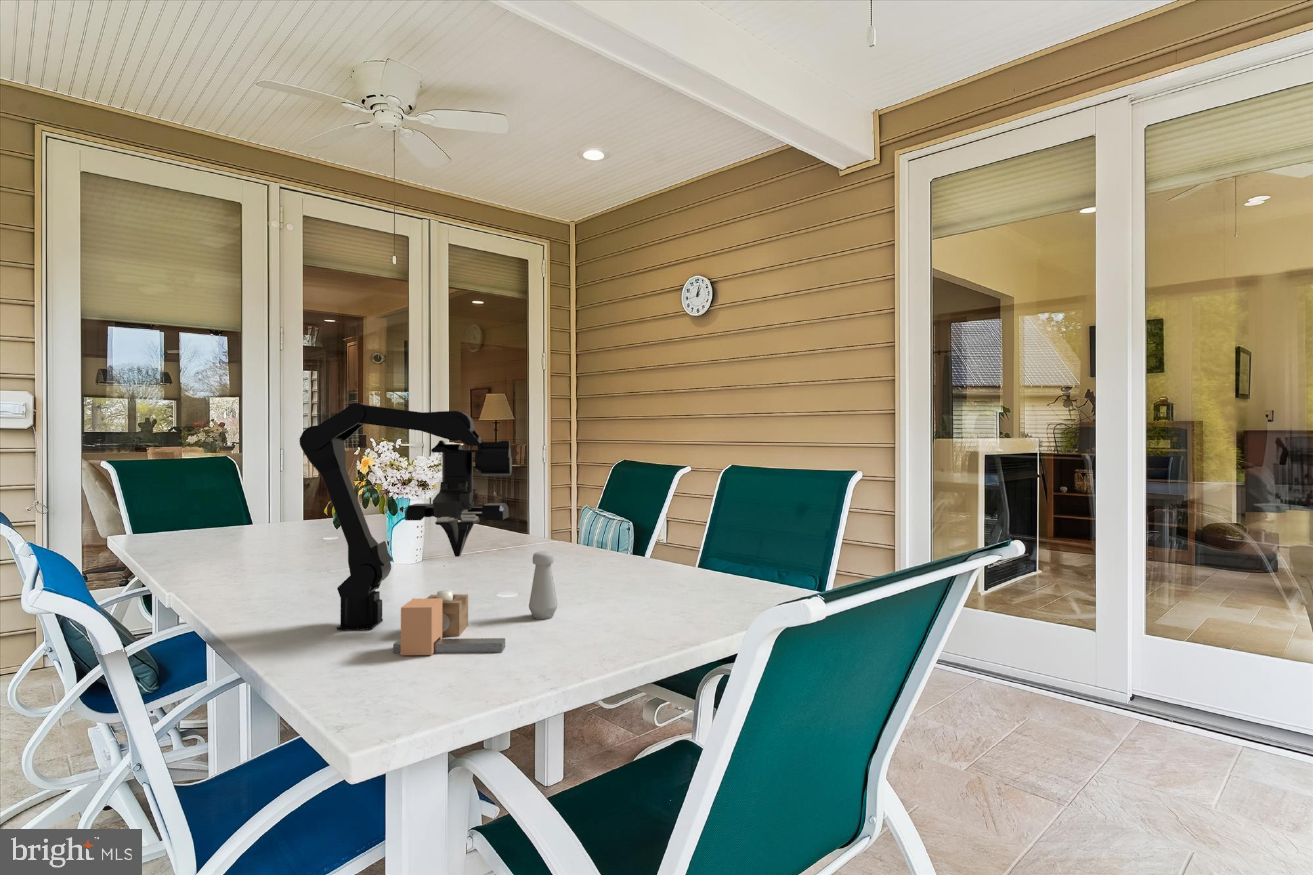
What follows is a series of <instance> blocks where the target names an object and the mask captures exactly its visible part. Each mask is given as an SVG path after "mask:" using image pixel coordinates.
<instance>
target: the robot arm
mask: <svg viewBox="0 0 1313 875" xmlns="http://www.w3.org/2000/svg"><path fill="white" fill-rule="evenodd" d="M364 425H371V426H381V427H387V428H388V427H389V428H396V429H404V430H405V429H406V430H411V431H421V432H423V433H426V434H429V435H433V436H435V437H439V438H442V440H439V441H438V443H437V444H436V445H435V446H434V447H433V448H431V449H430V451H431V453H438V454H439V453H440V454H442V455H441V456H442V457H441V458H442V459H441V464H442V465H441V467H442V468H441V470H442V472H441V474H442V475H441V476H442V477H441V479H442V480H441V482H440V486H439V488H440V489H439V492H438V493H437V494H436V495H435V497H434V498H433V499H432V503H413V504H411V505H407V507H406V508H405V510H404V521H422V520H423V519H424V518H432V517H434V518H436V521H435V522H434V524H435V525H436V526H439V527H441V528H442V529H443V530H444V533H445V534H446V536H447V538H448V541H449V544H450V546H451V549H452V551H453V555H454V557H457V558H459V557H461V555H462V554H463V553H462V552H463V551H464V550H463V549H464V547H465V544H466V542H467V539H468V538H469V534H470V532H471V530H472V528H473V527H474V525H475V524H477V523H479V522H480V520H481V519H480V518H479V517H482V518H483V519H484V520H486V521H503V520H505V519H507V518H509V516H510V514H509V506H508V504H507V503H505V502H501V503H500V502H499V503H498V502H489V503H485V504H483V505H482V506H475V500H474V485H475V480H474V476H473V475H474V473H473V471H474V468H475V471H477V472H480V475H481V476H512V473H513V472H512V471H513V456H512V450H511V442H510V440H501V441H483V439H482V437H481V436H479V434H478V432H477V431H476V430H475V423H474V420H473V418H472V417H471V416H470V415H469V414H467V413H466V412H463V411H458V410H447V411H446V410H444V411H426V412H425V411H424V412H421V411H413V410H408V409H407V410H406V409H398V408H390V407H384V406H374V405H368V404H365V403H361V402H352V403H350V404H349V405H348V406H347V407H344V409H343V410H341V411H339V412H338V413H336V414H334V415H333V416H331V417H329V418H327V419H326V420H324V421H323V422H321V423H320V424H318V425H311V426H309V427H307V428H305V429H304V431H302V433H301V435H300V437H299V446H300V449H301V450H302V451H303V454H304V456H306V458H307V459H308V461H309V463H310V464H311V466H313V467H314V468H315V470H316V471H317V472H318V473H319V474H320V476H321V478H322V481H323V483H324V487H325V489H326V492H327V493H328V496H329V499H330V502H331V504H332V507H333V510H334V512H335V515H336V518H337V520H338V522H339V525H340V527H341V530H342V533H343V535H344V538H345V541H346V543H347V563H348V569H349V574H350V575H349V576H348V577H347V578H346V579H344V581H343V582H342V583H341V584H339V585H338V587H337V588H336V589H337V592H338V595H339V597H340V622H339V623H340V625H339V624H338V625H337V626H336V630H345V631H346V630H355V631H356V630H372V629H374V628H375V627H377V626H378V625H379V624H381V623H382V622H383V621H384V619H383V599H381V598H380V595H381V594H380V592H381V591H376V590H378V589H380V586H381V583H382V582H383V581H384V580H386V579H387V577H388V576H390V572H391V570H392V563H391V562H392V561H393V560H394V558H393V557H392V556H391V555H390V552H389V550H388V545H387V542H386V541H385V540H383V541H381V542H380V543H379V542H377V540H376V539H375V537H373V535H372V534H371V530H370V528H369V526H368V523H367V520H366V517H365V515H364V513H363V510H362V507H361V504H360V502H359V499H358V497H357V494H356V492H355V489H354V487H353V484H352V481H351V479H350V475H349V473H348V471H347V467H346V457H347V455H346V447H345V442H346V441H347V440H348V439H349V438H351V437H352V436H353V435H354V434H355V433H356V432H358V430H359V429H360V428H362V427H363V426H364ZM443 439H445V440H449V441H453V442H457V441H458V442H462V443H463V444H465V445H466V446H468V447H474V446H475V447H477V449H463V446H462V444H461V443H446V442H445V441H444V440H443ZM473 455H474V456H473ZM473 459H474V460H473ZM473 462H474V463H473ZM473 465H474V466H473ZM459 517H460V521H459Z"/></svg>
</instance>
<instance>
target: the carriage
mask: <svg viewBox="0 0 1313 875" xmlns="http://www.w3.org/2000/svg"><path fill="white" fill-rule="evenodd" d="M400 639H401V653H400V656H432V655H433V654H435V653H434V642H435V641H436V640H437V639H443V636H442V598H428V597H425V598H422V597H421V598H412V599H411V600H409V601H408V602H406V603H405V604H404V605H402V606H401V607H400Z"/></svg>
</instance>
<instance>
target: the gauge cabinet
mask: <svg viewBox="0 0 1313 875" xmlns="http://www.w3.org/2000/svg"><path fill="white" fill-rule="evenodd" d="M427 598H437V594H430V595H428V596H427ZM468 627H469V594H468V593H467V594H466V593H465V594H463V593H462V594H459V593H458V594H454V593H453V600H452V601H442V637H459V636H461V634H462V633H463V632H464V631H465V630H466V629H467V628H468Z"/></svg>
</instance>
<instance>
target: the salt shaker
mask: <svg viewBox="0 0 1313 875" xmlns="http://www.w3.org/2000/svg"><path fill="white" fill-rule="evenodd" d="M554 561H555V556H554V553H552V551H546V550H545V551H537V552H534V553H533V554H532V564H533V565H535V567H534V570H533V571H534V572H533V577H532V578H533V579H532V583H531V584H532V585H531V590H530V597H529V603H528V609H529V611H530V613H531V615H532V617H533V619H534V618H536V619H537V620H547V618H549V619H552V618H553V617H554V615H555V613H556V611H557V609H558V606H559V604H558V598H557V591H556V586H555V581H554V575H553V570H552V564H554Z"/></svg>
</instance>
